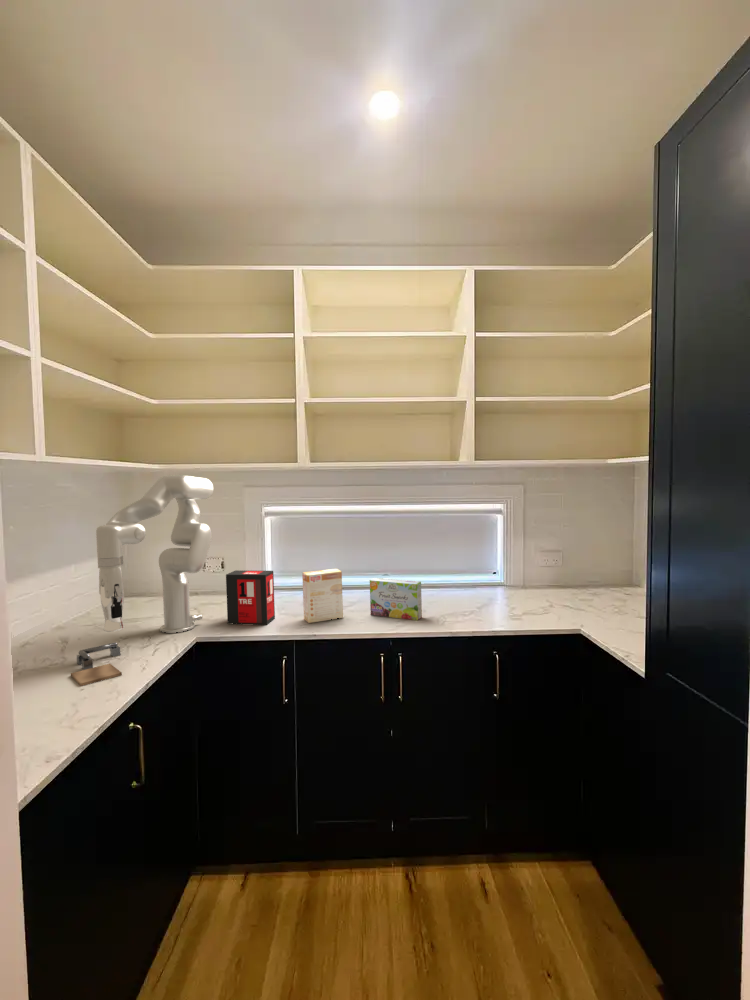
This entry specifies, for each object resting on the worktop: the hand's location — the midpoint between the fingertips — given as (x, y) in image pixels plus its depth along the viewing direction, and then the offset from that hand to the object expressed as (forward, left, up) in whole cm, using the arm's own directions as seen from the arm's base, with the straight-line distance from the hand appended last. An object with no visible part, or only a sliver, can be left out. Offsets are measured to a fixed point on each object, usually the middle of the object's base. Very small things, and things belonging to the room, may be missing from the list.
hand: (113, 615), depth 171 cm
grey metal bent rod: (+5, +3, -14) cm, 15 cm away
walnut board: (+10, +15, -14) cm, 23 cm away
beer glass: (0, 0, -5) cm, 5 cm away
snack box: (-96, +38, -14) cm, 104 cm away
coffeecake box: (-74, +18, -14) cm, 77 cm away
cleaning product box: (-52, -1, -14) cm, 54 cm away
